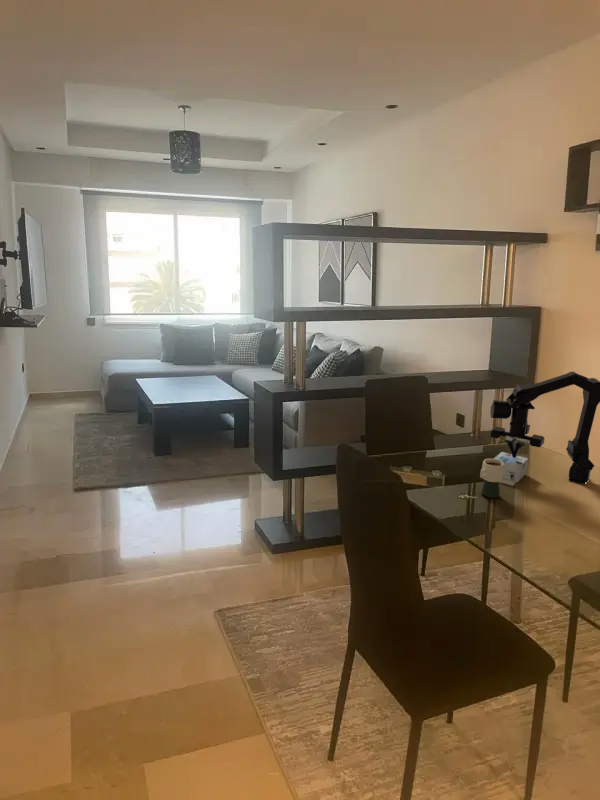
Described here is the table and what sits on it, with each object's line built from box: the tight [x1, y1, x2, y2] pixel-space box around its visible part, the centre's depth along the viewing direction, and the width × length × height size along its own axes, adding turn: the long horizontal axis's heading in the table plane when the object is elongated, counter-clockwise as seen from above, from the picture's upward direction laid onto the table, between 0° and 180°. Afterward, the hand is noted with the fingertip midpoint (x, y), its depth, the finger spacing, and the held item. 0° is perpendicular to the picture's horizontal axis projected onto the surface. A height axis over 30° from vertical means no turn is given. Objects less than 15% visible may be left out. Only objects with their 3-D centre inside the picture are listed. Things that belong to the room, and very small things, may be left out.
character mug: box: [479, 458, 505, 499], centre depth 213 cm, size 11×7×13 cm, turn 116°
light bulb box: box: [493, 451, 529, 483], centre depth 231 cm, size 11×7×11 cm
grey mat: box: [499, 478, 517, 487], centre depth 233 cm, size 12×16×1 cm
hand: (514, 457), depth 228 cm, fingers closed
